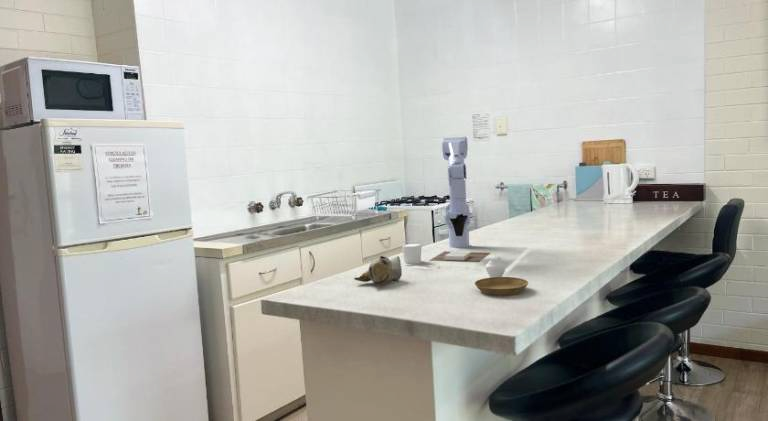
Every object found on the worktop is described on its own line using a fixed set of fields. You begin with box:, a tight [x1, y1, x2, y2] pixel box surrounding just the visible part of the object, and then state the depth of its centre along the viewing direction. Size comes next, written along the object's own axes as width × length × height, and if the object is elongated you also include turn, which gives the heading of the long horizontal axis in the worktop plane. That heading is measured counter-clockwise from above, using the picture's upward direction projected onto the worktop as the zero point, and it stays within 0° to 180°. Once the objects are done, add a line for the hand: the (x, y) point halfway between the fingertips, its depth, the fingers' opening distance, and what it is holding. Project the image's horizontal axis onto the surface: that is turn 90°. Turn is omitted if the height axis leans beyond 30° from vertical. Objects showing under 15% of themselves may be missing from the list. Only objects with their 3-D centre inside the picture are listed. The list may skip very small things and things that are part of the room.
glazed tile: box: [445, 250, 472, 262], centre depth 211 cm, size 2×7×9 cm
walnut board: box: [428, 250, 491, 263], centre depth 215 cm, size 18×18×1 cm
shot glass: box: [401, 243, 423, 267], centre depth 209 cm, size 7×7×7 cm
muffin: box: [484, 255, 507, 278], centre depth 182 cm, size 6×6×7 cm
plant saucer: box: [474, 276, 529, 297], centre depth 167 cm, size 15×15×3 cm
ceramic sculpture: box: [353, 255, 403, 286], centre depth 183 cm, size 11×9×15 cm
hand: (459, 235), depth 213 cm, fingers closed
